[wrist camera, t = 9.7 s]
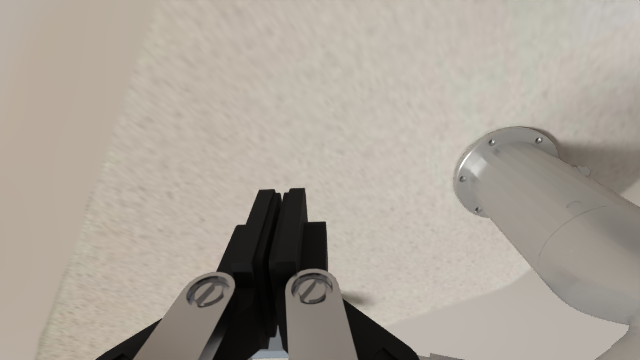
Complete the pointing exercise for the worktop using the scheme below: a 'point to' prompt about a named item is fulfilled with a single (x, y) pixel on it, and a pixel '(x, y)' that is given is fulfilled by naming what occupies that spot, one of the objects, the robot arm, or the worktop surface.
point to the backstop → (272, 349)
